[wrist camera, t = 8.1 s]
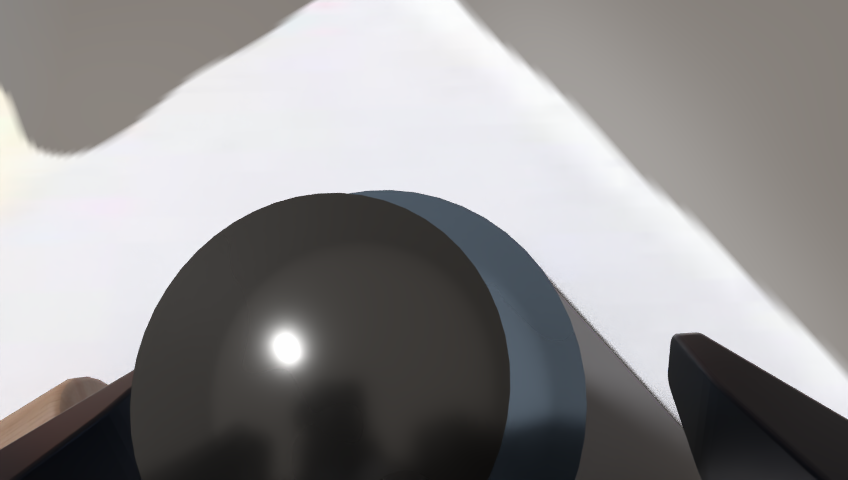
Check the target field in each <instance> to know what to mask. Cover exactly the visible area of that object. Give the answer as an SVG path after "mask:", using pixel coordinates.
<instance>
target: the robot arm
mask: <svg viewBox="0 0 848 480" xmlns="http://www.w3.org/2000/svg"><path fill="white" fill-rule="evenodd" d="M133 374H134V370H133V371H131V372H130V373H128V374H126V375H125V376H123V377H121V378H119V379H118V380H116V381H114V382H113V383H111V384H109V385H108V386H106V387H104V388H103V389H101V390H99V391H98V392H96V393H94V394H93V395H91V396H89V397H87V398H86V399H84V400H82V401H81V402H79V403H77V404H76V405H74V406H72V407H71V408H69V409H67V410H66V411H64V412H62V413H61V414H59V415H57V416H55V417H54V418H52V419H50V420H49V421H47V422H45V423H44V424H42V425H40V426H39V427H37V428H35V429H34V430H32V431H30V432H29V433H27V434H25V435H23V436H22V437H20V438H18V439H17V440H15V441H13V442H12V443H10V444H8V445H7V446H5V447H3V448H2V449H0V480H141V476H140V473H139V470H138V466H137V463H136V460H135V454H134V448H133V442H132V436H131V420H130V401H131V388H132V379H133ZM668 381H669V386H670V390H671V393H672V396H673V399H674V402H675V405H676V408H677V411H678V414H679V417H680V420H681V423H682V426H683V429H684V432H685V435H686V438H687V441H688V444H689V447H690V450H691V453H692V456H693V459H694V461H695V464H696V467H697V470H698V473H699V475H700V477H701V480H848V419H846V418H844V417H843V416H841V415H839V414H838V413H836V412H834V411H832V410H831V409H829V408H827V407H826V406H824V405H822V404H821V403H819V402H817V401H815V400H814V399H812V398H810V397H809V396H807V395H805V394H804V393H802V392H800V391H798V390H797V389H795V388H793V387H792V386H790V385H788V384H787V383H785V382H783V381H781V380H780V379H778V378H776V377H775V376H773V375H771V374H770V373H768V372H766V371H764V370H763V369H761V368H759V367H758V366H756V365H754V364H753V363H751V362H749V361H747V360H746V359H744V358H742V357H741V356H739V355H737V354H736V353H734V352H732V351H730V350H729V349H727V348H725V347H724V346H722V345H720V344H719V343H717V342H715V341H713V340H712V339H710V338H708V337H707V336H705V335H703V334H701V333H680V334H675V335H674V336H673V337H672V339H671V344H670V355H669V367H668Z"/></svg>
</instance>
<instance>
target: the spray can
mask: <svg viewBox="0 0 848 480" xmlns="http://www.w3.org/2000/svg"><path fill="white" fill-rule="evenodd" d="M586 412H587V400H586V384H585V373H584V368H583V363H582V358H581V353H580V348H579V344H578V341H577V338H576V335H575V332H574V329H573V326H572V323H571V320H570V318H569V316H568V314H567V311H566V309H565V307H564V305H563V303H562V301H561V299H560V297H559V295H558V293H557V291H556V290H555V288H554V287H553V285H552V284H551V282H550V281H549V279H548V278H547V276H546V275H545V273H544V272H543V270H542V269H541V268H540V267H539V265H538V264H537V263H536V262H535V261H534V260H533V258H532V257H531V256H530V255H529V254H528V253H527V251H526V250H525V249H524V248H522V247H521V246H520V245H519V244H518V243H517V242H516V241H515V240H514V239H513V238H511V237H510V236H509V235H508V234H507V233H506V232H504V231H503V230H502V229H500V228H499V227H497V226H496V225H494V224H493V223H491V222H490V221H489V220H487V219H486V218H484V217H482V216H480V215H478V214H476V213H474V212H472V211H470V210H468V209H467V208H465V207H463V206H460V205H457V204H454V203H452V202H449V201H446V200H443V199H441V198H437V197H433V196H428V195H424V194H419V193H414V192H404V191H394V190H383V191H363V192H357V193H350V194H345V193H323V194H313V195H306V196H299V197H294V198H291V199H287V200H284V201H280V202H276V203H273V204H271V205H269V206H266V207H264V208H261V209H259V210H256V211H254V212H252V213H250V214H248V215H247V216H245V217H243V218H241V219H239V220H237V221H236V222H234V223H232V224H231V225H229V226H228V227H227V228H225V229H224V230H222V231H221V232H220V233H218V234H217V235H215V236H214V237H213V238H212V239H211V240H210V241H208V242H207V243H206V244H205V245H204V246H203V247H202V248H200V249H199V250H198V251H197V252H196V253H195V254H194V255H193V257H192V258H191V259H190V260H189V261H188V262H187V263H186V264H185V265H184V266H183V268H182V269H181V270H180V271H179V273H178V274H177V275H176V277H175V278H174V279H173V281H172V282H171V284H170V285H169V286H168V288H167V289H166V291H165V293H164V294H163V296H162V298H161V300H160V301H159V303H158V305H157V306H156V308H155V310H154V312H153V314H152V317H151V319H150V321H149V324H148V326H147V328H146V330H145V333H144V336H143V339H142V342H141V345H140V348H139V352H138V355H137V359H136V364H135V369H134V374H133V379H132V388H131V401H130V420H131V436H132V442H133V448H134V454H135V460H136V463H137V466H138V470H139V473H140V476H141V480H575V478H576V475H577V472H578V469H579V464H580V459H581V454H582V449H583V444H584V439H585V427H586Z"/></svg>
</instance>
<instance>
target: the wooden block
mask: <svg viewBox="0 0 848 480" xmlns="http://www.w3.org/2000/svg"><path fill="white" fill-rule="evenodd" d="M106 386H108V385H107V384H106V383H104V382H102V381H100V380H98V379H94V378H90V377H81V378H73V379H67V380H66V381H64V382H63V383H61V384H59V385H58V386H56V387H54V388H53V389H51V390H50V391H48V392H46V393H45V394H43V395H41V396H40V397H38V398H37V399H35V400H33V401H32V402H30V403H28V404H27V405H25V406H24V407H22V408H20V409H19V410H17V411H15V412H14V413H12V414H11V415H9V416H7V417H6V418H4V419H2V420H1V421H0V449H2V448H3V447H5V446H7V445H8V444H10V443H12V442H13V441H15V440H17V439H18V438H20V437H22V436H23V435H25V434H27V433H29V432H30V431H32V430H34V429H35V428H37V427H39V426H40V425H42V424H44V423H45V422H47V421H49V420H50V419H52V418H54V417H55V416H57V415H59V414H61V413H62V412H64V411H66V410H67V409H69V408H71V407H72V406H74V405H76V404H77V403H79V402H81V401H82V400H84V399H86V398H87V397H89V396H91V395H93V394H94V393H96V392H98V391H99V390H101V389H103V388H104V387H106Z"/></svg>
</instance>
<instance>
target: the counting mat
mask: <svg viewBox="0 0 848 480" xmlns="http://www.w3.org/2000/svg"><path fill="white" fill-rule="evenodd" d="M553 287H554V286H553ZM554 288H555V287H554ZM555 290H556V289H555ZM556 291H557V290H556ZM557 293H558V295H559V297H560V299H561V301H562V303H563V305H564V307H565V309H566V311H567V314H568V316H569V318H570V320H571V323H572V326H573V329H574V332H575V335H576V338H577V341H578V344H579V348H580V353H581V358H582V363H583V368H584V373H585V384H586V400H587V412H586V427H585V439H584V444H583V449H582V454H581V459H580V464H579V469H578V472H577V475H576V478H575V480H701V477H700V475H699V473H698V470H697V467H696V464H695V461H694V459H693V456H692V453H691V450H690V447H689V444H688V441H687V438H686V435H685V432H684V429H683V428H682V427H681V426H680V425H679V424H678V423H677V422H676V421H675V419H674V418H673V417H672V416H671V415H670V414H669V413H668V412H667V411H666V410H665V408H664V407H663V406H662V405H661V404H660V403H659V402H658V401H657V400H656V399H655V397H654V396H653V395H652V394H651V393H650V392H649V391H648V390H647V389H646V388H645V386H644V385H643V384H642V383H641V382H640V381H639V380H638V379H637V378H636V377H635V375H634V374H633V373H632V372H631V371H630V370H629V369H628V368H627V367H626V366H625V364H624V363H623V362H622V361H621V360H620V359H619V358H618V357H617V356H616V355H615V353H614V352H613V351H612V350H611V349H610V348H609V347H608V346H607V345H606V344H605V342H604V341H603V340H602V339H601V338H600V337H599V336H598V335H597V334H596V333H595V331H594V330H593V329H592V328H591V327H590V326H589V325H588V324H587V323H586V322H585V320H584V319H583V318H582V317H581V316H580V315H579V314H578V313H577V312H576V311H575V309H574V308H573V307H572V306H571V305H570V304H569V303H568V302H567V301H566V300H565V298H564V297H563V296H562V295H561V294H560V293H559V292H558V291H557Z"/></svg>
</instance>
